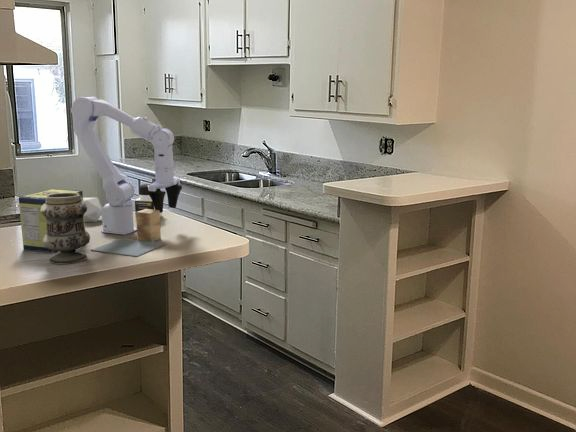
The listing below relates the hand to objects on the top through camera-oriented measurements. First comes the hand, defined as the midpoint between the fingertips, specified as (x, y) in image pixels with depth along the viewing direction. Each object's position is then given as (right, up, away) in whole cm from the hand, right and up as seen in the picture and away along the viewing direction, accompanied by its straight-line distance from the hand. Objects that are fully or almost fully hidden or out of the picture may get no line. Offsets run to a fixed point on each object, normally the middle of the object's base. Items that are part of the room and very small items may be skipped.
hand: (166, 209), depth 190 cm
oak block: (-4, -9, -7) cm, 12 cm away
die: (-30, -4, +17) cm, 35 cm away
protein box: (-30, -11, -13) cm, 35 cm away
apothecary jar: (-21, -14, -27) cm, 37 cm away
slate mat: (-8, -11, -16) cm, 21 cm away
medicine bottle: (-11, -3, +22) cm, 25 cm away
